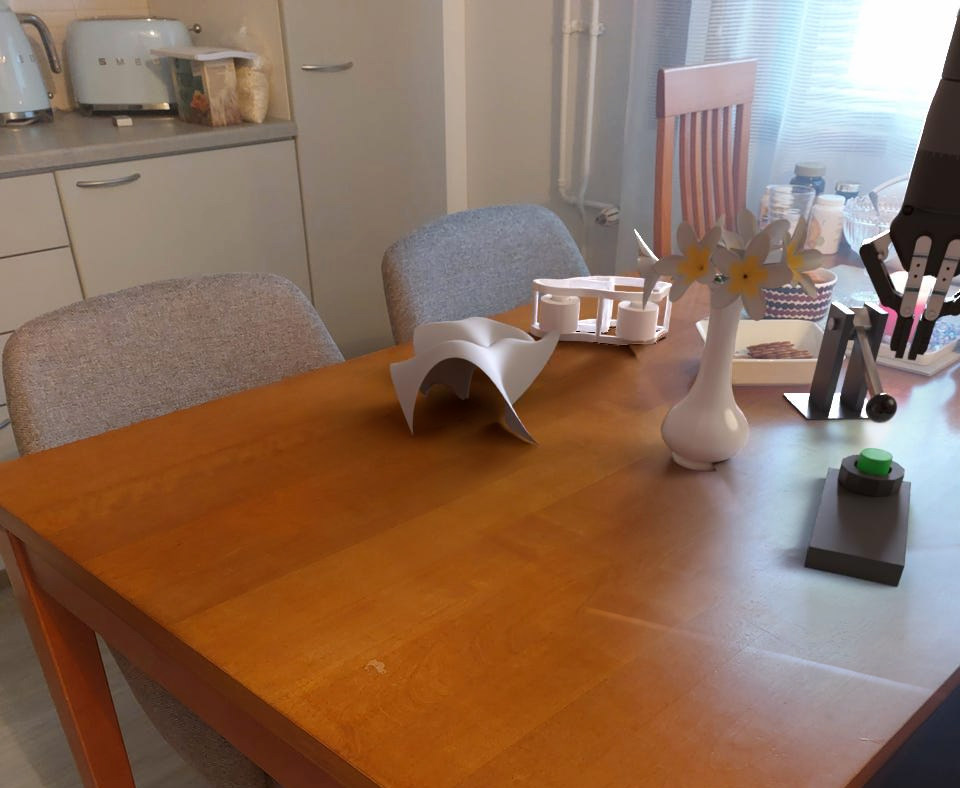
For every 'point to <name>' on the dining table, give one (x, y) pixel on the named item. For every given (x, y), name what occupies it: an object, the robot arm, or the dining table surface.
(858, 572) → the dark box
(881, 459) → the green button
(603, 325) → the car outline toy
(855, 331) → the switch lever
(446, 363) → the sculpture
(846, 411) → the lever bracket
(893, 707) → the dining table surface
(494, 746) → the dining table surface
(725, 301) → the flower vase
